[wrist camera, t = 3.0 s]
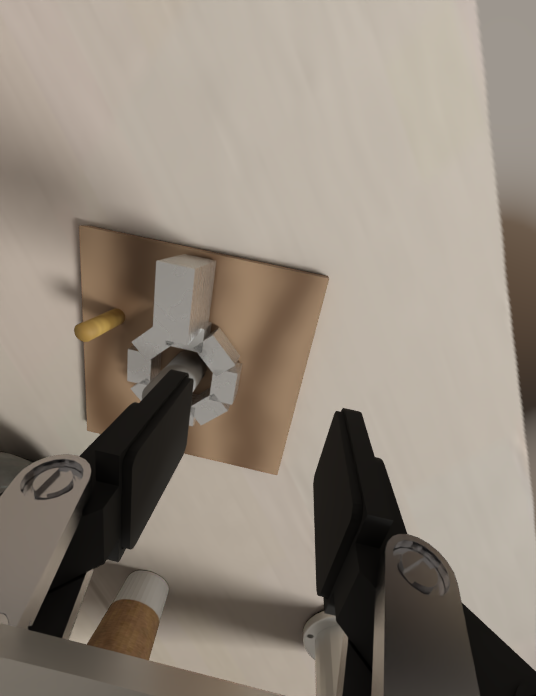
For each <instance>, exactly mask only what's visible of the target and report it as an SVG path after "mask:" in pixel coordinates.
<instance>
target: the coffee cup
mask: <svg viewBox="0 0 536 696" xmlns="http://www.w3.org/2000/svg"><path fill="white" fill-rule="evenodd" d="M168 591H169V587H168V584H167V583H166V581H165V580H164V579H163V578H162V577H160V576H159V575H157V574H155V573H153V572H149V571H142V570H140V571H135V572H132V573H131V574H130V575H129V576H128V577H127V579H126V581H125V582H124V584H123V586H122V588H121V589H120V591H119V593H118V594H117V596H116V598H115V600H114V601H113V603H112V604H111V606H110V607H109V609H108V611H107V612H106V614H105V616H104V617H103V619H102V620H101V622H100V624H99V625H98V627H97V629H96V630H95V632H94V634H93V635H92V637H91V639H90V640H89V642H88V643H87V645H90V646H94V647H98V648H102V649H106V650H110V651H114V652H118V653H122V654H126V655H129V656H133V657H137V658H141V659H145V660H149V658H150V654H151V651H152V647H153V644H154V640H155V636H156V633H157V629H158V626H159V621H160V618H161V615H162V612H163V608H164V605H165V602H166V599H167V595H168Z"/></svg>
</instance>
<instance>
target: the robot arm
mask: <svg viewBox="0 0 536 696" xmlns="http://www.w3.org/2000/svg"><path fill="white" fill-rule="evenodd" d="M193 384H194V380H193V379H192V378H189V374H188V373H186V372H181V371H177V370H172V369H171V370H170V371H169V372H168V373H167V374H166V375H165V376H164V377H163V378H162V379H161V380H160V381H159V382H158V383H157V384H156V385H155V387H154V388H153V389H152V390H151V391H150V392H149V393H148V394H147V395H146V396H145V397H144V398H143V399H142V400H141V401H140V403H137V402H134V403H132V404H130V405H129V406H128V407H127V408H126V409H125V410H124V411H123V412H122V413H121V414H120V415H119V416H118V417H117V418H116V419H115V420H114V421H113V422H112V423H111V425H110V426H109V427H108V428H107V429H106V430H105V431H104V432H103V433H102V434H101V435H100V436H99V437H98V438H97V439H96V440H95V441H94V442H93V443H92V444H91V445H90V446H89V447H88V448H87V449H86V450H85V451H84V452H83V453H82V454H81V455H80V456H76V455H70V454H63V455H54V456H50V457H45V458H43V459H41V460H38V461H36V462H34V463H32V464H30V465H29V466H27V467H26V468H24V469H23V470H22V471H21V472H20V473H19V474H18V475H17V476H16V477H15V478H14V479H13V481H12V482H11V483H10V485H9V486H8V487H7V489H6V490H5V491H4V492H2V493H0V696H284V695H280V694H277V693H273V692H269V691H265V690H261V689H257V688H253V687H250V686H246V685H242V684H238V683H234V682H230V681H226V680H223V679H219V678H215V677H211V676H207V675H203V674H199V673H196V672H192V671H188V670H184V669H180V668H176V667H172V666H168V665H164V664H161V663H157V662H153V661H149V660H145V659H141V658H137V657H133V656H129V655H126V654H122V653H118V652H114V651H110V650H106V649H102V648H98V647H94V646H90V645H86V644H82V643H78V642H74V641H70V640H69V638H70V635H71V632H72V629H73V626H74V624H75V621H76V618H77V615H78V612H79V610H80V607H81V604H82V601H83V598H84V596H85V593H86V590H87V587H88V585H89V582H90V579H91V576H92V573H93V569H94V568H96V567H98V566H100V565H102V564H104V563H105V561H106V560H107V559H108V560H112V561H116V562H119V560H120V559H121V557H122V555H123V553H124V551H125V550H126V548H127V549H133V547H134V546H135V544H136V543H137V541H138V539H139V537H140V535H141V533H142V531H143V529H144V528H145V526H146V524H147V522H148V520H149V518H150V516H151V514H152V513H153V511H154V509H155V507H156V505H157V503H158V501H159V499H160V498H161V496H162V494H163V492H164V490H165V488H166V486H167V484H168V483H169V481H170V479H171V477H172V475H173V473H174V471H175V469H176V468H177V466H178V464H179V462H180V460H181V458H182V456H183V454H184V452H185V449H186V445H187V437H188V429H189V420H190V411H191V402H192V393H193ZM313 489H314V523H315V556H316V588H317V595H318V596H322V597H324V611H322V612H320V613H318V614H316V615H314V616H313V617H311V618H310V619H309V620H308V622H307V623H306V624H305V626H304V630H303V644H304V647H305V649H306V651H307V652H308V654H309V655H310V656H311V657H312V658H313V659H314V660H315V672H316V696H536V671H535V670H534V669H532V668H531V667H530V666H529V665H528V664H527V663H526V662H525V661H524V660H523V659H522V658H521V657H520V656H519V655H517V654H516V653H515V652H514V651H513V650H512V649H511V648H510V647H509V646H508V645H507V644H506V643H505V642H504V641H502V640H501V639H500V638H499V637H498V636H497V635H496V634H495V633H494V632H493V631H492V630H491V629H490V628H488V627H487V626H486V625H485V624H484V623H483V622H482V621H481V620H480V619H479V618H478V617H477V616H476V615H475V614H473V613H472V612H471V611H470V610H469V609H468V608H467V607H466V606H465V605H464V604H463V603H462V602H461V597H460V592H459V587H458V583H457V580H456V577H455V574H454V572H453V570H452V568H451V567H450V565H449V563H448V562H447V561H446V559H445V558H444V557H443V556H442V555H441V554H440V553H439V552H438V551H437V550H436V549H435V548H434V547H432V546H431V545H430V544H429V543H427V542H425V541H424V540H422V539H420V538H418V537H415V536H412V535H409V534H407V532H406V529H405V526H404V523H403V520H402V516H401V513H400V510H399V507H398V504H397V501H396V498H395V495H394V492H393V489H392V486H391V483H390V480H389V477H388V474H387V471H386V468H385V465H384V463H383V461H382V460H381V459H380V458H376V457H375V456H374V453H373V450H372V446H371V443H370V440H369V436H368V433H367V430H366V426H365V423H364V420H363V416H362V413H361V412H359V411H354V410H350V409H345V408H343V409H342V411H341V412H338V411H336V412H335V414H334V417H333V420H332V423H331V426H330V429H329V432H328V435H327V438H326V441H325V444H324V447H323V451H322V454H321V457H320V460H319V463H318V466H317V469H316V472H315V476H314V483H313Z"/></svg>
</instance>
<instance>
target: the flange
mask: <svg viewBox="0 0 536 696" xmlns="http://www.w3.org/2000/svg"><path fill="white" fill-rule="evenodd" d="M215 268H216V260H211V259H206V258H201V257H197V256H192V255H187V254H183V255H179V256H174V257H170V258H166V259H162V260H157V261H156V275H155V295H154V315H153V327H152V328H150V329H149V330H148V331H146V332H145V333H143V334H142V335H141V336H139V337H138V338H136V339H135V340H133V341H132V343H133V346H131V347H130V348H129V349H128V364H127V381H130V382H134V383H136V384H135V385H134V386H133V387H131V388H130V389H131V390H132V391H133V392H134V393H135V395H136V396H137V397H138V398H139V399H140V400H142V392H143V390H144V388H145V387H146V386H147V385H148V384H149V383H150V382H151V381H152V380H153V379H154V378H155V377H156V376H157V375H158V374H159V373H160V368H161V352H162V351H164V350H165V349H167V348H168V347H170V346H172V347H177V348H181V349H186V350H190V351H195V352H197V353H198V354H199V356H200V357H201V358H202V359H203V361H204V362H205V363H206V365H207V366H208V367H209V369H210V370H211V371H212V372H213V376H212V383H211V387H210V388H209V389H207V390H205V391H204V392H202V393H200V394H198V395H197V394H192V402H191V411H190V420H189V426H194V424H195V422H196V420H197V421H198V423H199V424H200V425H203V424H205V423H207V422H208V421H210V420H212V419H214V418H216V417H218V416H219V415H221V414H223V413H225V412H227V411H228V409H229V407H230V404H231V405H232V404H233V402H234V399H235V397H236V394H237V391H238V385H239V379H240V373H241V368H242V363H238V362H237V361H238V359H239V357H240V355H239V353H238V352H237V350H236V349H235V348H234V346H233V345H232V344H231V342H230V341H229V340H228V338H227V337H226V336H225V334H224V333H223V331H222V330H221V329H220V327H219V328H217V329H216V330H214V331H213V332H211V324H212V322H209V316H210V308H211V300H212V292H213V284H214V276H215ZM210 332H211V333H210Z"/></svg>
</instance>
